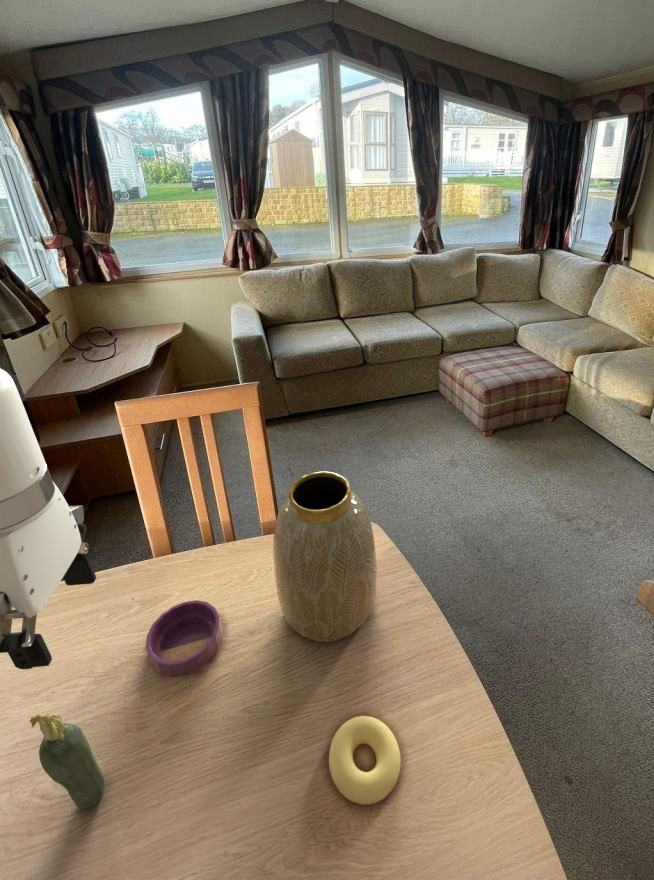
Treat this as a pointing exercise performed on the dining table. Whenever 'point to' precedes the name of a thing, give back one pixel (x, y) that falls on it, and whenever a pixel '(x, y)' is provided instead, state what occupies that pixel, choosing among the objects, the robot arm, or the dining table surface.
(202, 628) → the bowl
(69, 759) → the vegetable
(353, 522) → the vase
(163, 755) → the dining table surface
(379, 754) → the donut
